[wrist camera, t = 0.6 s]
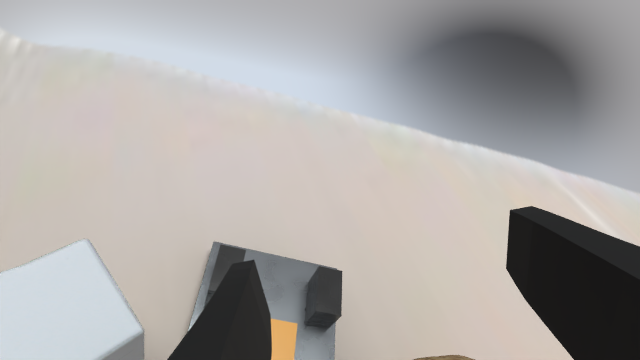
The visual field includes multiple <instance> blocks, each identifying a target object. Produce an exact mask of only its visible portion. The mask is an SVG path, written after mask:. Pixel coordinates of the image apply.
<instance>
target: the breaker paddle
mask: <svg viewBox="0 0 640 360" xmlns="http://www.w3.org/2000/svg"><path fill="white" fill-rule="evenodd" d="M297 324H298V323H292V322H287V321H282V320H276V319H271V334H272V357H271V360H294V354H295V344H296V334H297Z"/></svg>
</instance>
